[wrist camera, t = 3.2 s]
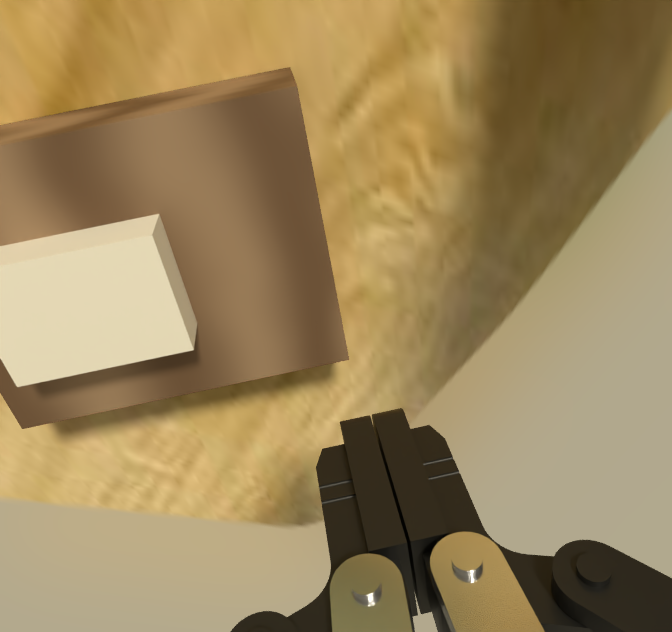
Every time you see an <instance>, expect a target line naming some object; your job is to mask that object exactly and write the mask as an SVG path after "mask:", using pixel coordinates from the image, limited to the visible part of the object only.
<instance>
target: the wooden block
mask: <svg viewBox="0 0 672 632" xmlns="http://www.w3.org/2000/svg"><path fill="white" fill-rule="evenodd" d="M155 214H159V215H160V217H161V220H162V223H163V226H164V229H165V232H166V235H167V238H168V240H169V243H170V246H171V249H172V252H173V255H174V258H175V261H176V264H177V266H178V269H179V272H180V275H181V278H182V281H183V284H184V287H185V289H186V292H187V295H188V298H189V301H190V304H191V307H192V310H193V313H194V315H195V318H196V321H197V329H196V337H195V344H194V350H192V351H187V352H182V353H178V354H173V355H168V356H163V357H159V358H154V359H149V360H144V361H140V362H135V363H130V364H125V365H121V366H116V367H111V368H106V369H102V370H97V371H92V372H87V373H83V374H78V375H73V376H68V377H64V378H59V379H54V380H49V381H45V382H40V383H35V384H30V385H26V386H21V387H17V386H16V384H15V383H14V381H13V379H12V378H11V376H10V374H9V372H8V371H7V369H6V367H5V366H4V364H3V362H2V360H1V359H0V393H1V395H2V396H3V398H4V400H5V401H6V403H7V404H8V406H9V408H10V409H11V411H12V413H13V414H14V416H15V418H16V419H17V421H18V423H19V424H20V426H21V428H22V429H25V428H29V427H34V426H39V425H44V424H48V423H53V422H58V421H62V420H67V419H72V418H77V417H81V416H86V415H91V414H95V413H100V412H105V411H109V410H114V409H119V408H124V407H128V406H133V405H138V404H142V403H147V402H152V401H157V400H161V399H166V398H171V397H175V396H180V395H185V394H190V393H194V392H199V391H204V390H208V389H213V388H218V387H223V386H227V385H232V384H237V383H241V382H246V381H251V380H256V379H260V378H265V377H270V376H274V375H279V374H284V373H289V372H293V371H298V370H303V369H307V368H312V367H317V366H321V365H326V364H331V363H336V362H340V361H345V360H349V356H348V351H347V346H346V341H345V335H344V330H343V325H342V320H341V314H340V309H339V304H338V299H337V293H336V288H335V283H334V278H333V272H332V267H331V262H330V257H329V251H328V246H327V241H326V236H325V230H324V225H323V220H322V215H321V209H320V204H319V199H318V194H317V188H316V183H315V178H314V173H313V167H312V162H311V157H310V152H309V146H308V141H307V136H306V131H305V125H304V120H303V115H302V110H301V104H300V99H299V94H298V89H297V85H296V82H295V79H294V77H293V74H292V72H291V69H290V67H289V68H284V69H279V70H274V71H269V72H264V73H259V74H254V75H249V76H244V77H239V78H234V79H229V80H224V81H219V82H214V83H209V84H204V85H199V86H194V87H189V88H184V89H179V90H174V91H169V92H164V93H159V94H154V95H149V96H144V97H139V98H134V99H129V100H124V101H119V102H114V103H109V104H104V105H99V106H94V107H89V108H84V109H79V110H74V111H69V112H64V113H59V114H54V115H49V116H44V117H39V118H34V119H29V120H24V121H19V122H14V123H9V124H4V125H0V246H4V245H9V244H14V243H19V242H24V241H29V240H33V239H38V238H43V237H48V236H53V235H58V234H63V233H68V232H73V231H77V230H82V229H87V228H92V227H97V226H102V225H107V224H112V223H116V222H121V221H126V220H131V219H136V218H141V217H146V216H151V215H155Z"/></svg>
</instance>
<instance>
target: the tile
mask: <svg viewBox="0 0 672 632" xmlns="http://www.w3.org/2000/svg"><path fill="white" fill-rule="evenodd" d="M196 329H197V321H196V318H195V315H194V313H193V310H192V307H191V304H190V301H189V298H188V295H187V292H186V289H185V287H184V284H183V281H182V278H181V275H180V272H179V269H178V266H177V264H176V261H175V258H174V255H173V252H172V249H171V246H170V243H169V240H168V238H167V235H166V232H165V229H164V226H163V223H162V220H161V217H160V215H159V214H155V215H151V216H146V217H141V218H136V219H131V220H126V221H121V222H116V223H112V224H107V225H102V226H97V227H92V228H87V229H82V230H77V231H73V232H68V233H63V234H58V235H53V236H48V237H43V238H38V239H33V240H29V241H24V242H19V243H14V244H9V245H4V246H0V359H1V360H2V362H3V364H4V366H5V367H6V369H7V371H8V372H9V374H10V376H11V378H12V379H13V381H14V383H15V384H16V386H17V387H21V386H26V385H30V384H35V383H40V382H45V381H49V380H54V379H59V378H64V377H68V376H73V375H78V374H83V373H87V372H92V371H97V370H102V369H106V368H111V367H116V366H121V365H125V364H130V363H135V362H140V361H144V360H149V359H154V358H159V357H163V356H168V355H173V354H178V353H182V352H187V351H192V350H194V344H195V337H196Z"/></svg>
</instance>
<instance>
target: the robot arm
mask: <svg viewBox="0 0 672 632" xmlns="http://www.w3.org/2000/svg"><path fill="white" fill-rule="evenodd" d="M372 420H373V424H372V421H371V417H370V415H369V416H364V417H359V418H355V419H350V420H346V421H341V422H340V425H341V430H342V435H343V440H344V444H342V445H338V446H333V447H329V448H324V449H322V452H321V455H320V457H319V460H318V463H317V466H316V470H317V476H318V483H319V488H320V496H321V502H322V508H323V515H324V521H325V527H326V534H327V541H328V547H329V553H330V560H331V572H330V577H329V580H328V582H327V584H326V586H325V588H324V589H323V591H322V592H321V594H320V595H319V596H318V597H317V598H316V599H315V600H314V601H313V602H311V603H310V604H308V605H307V606H305V607H304V608H302V609H301V610H299V611H297V612H295V613H294V614H292V615H290V616H289V617H285V616H284V615H282V614H280V613H277V612H272V611H263V612H258V613H255V614H252V615H250V616H248V617H246V618H245V619H243V620H242V621H240V622H239V623H238V624H237V625H236V626H235V627H234V628H233V629H232V631H231V632H415V631H414V624H413V618H412V616H416V615H418V613H417V607H416V600H415V594H416V598H417V602H418V605H419V609H420V612H421V614H424V613H428V612H432V613H433V617H434V620H435V623H436V627H437V630H438V632H672V578H670V577H668V576H666V575H664V574H662V573H661V572H658V571H657V570H655V569H653V568H651V567H649V566H647V565H645V564H643V563H641V562H639V561H637V560H635V559H633V558H631V557H630V556H627V555H625V554H624V553H622V552H620V551H618V550H616V549H614V548H612V547H610V546H608V545H606V544H603V543H600V542H597V541H591V540H577V541H573V542H570V543H567V544H565V545H564V546H562V547H561V548H560V549H559V550H558V551H557V552H556V554H555V556H554V557H553V556H540V555H539V556H538V555H527V554H520V553H516V552H513V551H510V550H508V549H505V548H504V547H502V546H500V545H499V544H497V543H496V542H495V541H494V540H492V538H491V537H490V536H489V535H488V534H487V533H486V531H485V530H484V528H483V526H482V523H481V521H480V519H479V517H478V514H477V512H476V509H475V507H474V505H473V503H472V500H471V498H470V496H469V493H468V491H467V489H466V486H465V484H464V482H463V479H462V477H461V475H460V474H459V470H458V468H457V466H456V463H455V461H454V460H453V457H452V454H451V452H450V449H449V447H448V445H447V442H446V440H445V438H443V437H442V436H441V435H440V434H439V433H438V432H436V430H434V429H433V428H432V427H431V426H429V425H427V426H423V427H418V428H414V429H410V427H409V424H408V421H407V419H406V416H405V413H404V411H403V409H402V408H400V409H395V410H391V411H386V412H382V413H377V414H372ZM373 426H374V427H373ZM414 591H415V593H414Z"/></svg>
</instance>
